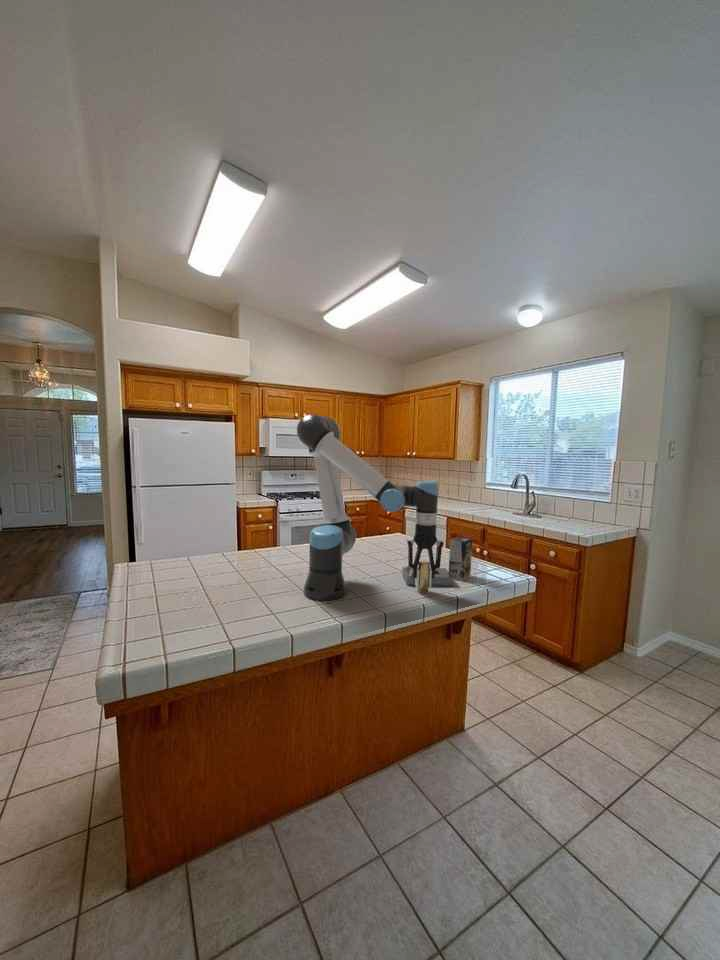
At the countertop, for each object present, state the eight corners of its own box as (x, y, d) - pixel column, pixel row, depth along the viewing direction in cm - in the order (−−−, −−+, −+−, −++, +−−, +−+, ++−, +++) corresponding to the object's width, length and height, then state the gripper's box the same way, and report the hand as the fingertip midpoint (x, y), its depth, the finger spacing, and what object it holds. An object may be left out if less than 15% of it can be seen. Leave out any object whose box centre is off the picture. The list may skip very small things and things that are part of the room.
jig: (406, 585, 149) (407, 572, 149) (402, 575, 161) (402, 563, 161) (452, 586, 150) (453, 573, 150) (445, 576, 162) (445, 564, 162)
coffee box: (462, 581, 156) (464, 542, 155) (447, 578, 160) (449, 539, 159) (471, 576, 163) (473, 538, 162) (456, 572, 167) (458, 536, 166)
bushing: (418, 593, 141) (419, 563, 140) (416, 589, 145) (417, 560, 144) (429, 593, 141) (430, 564, 140) (427, 589, 145) (428, 561, 144)
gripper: (404, 524, 137) (401, 589, 139) (451, 526, 138) (448, 590, 139) (401, 521, 145) (398, 582, 146) (446, 522, 145) (443, 583, 147)
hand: (423, 586), depth 143 cm, fingers closed on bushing, 4 cm apart
